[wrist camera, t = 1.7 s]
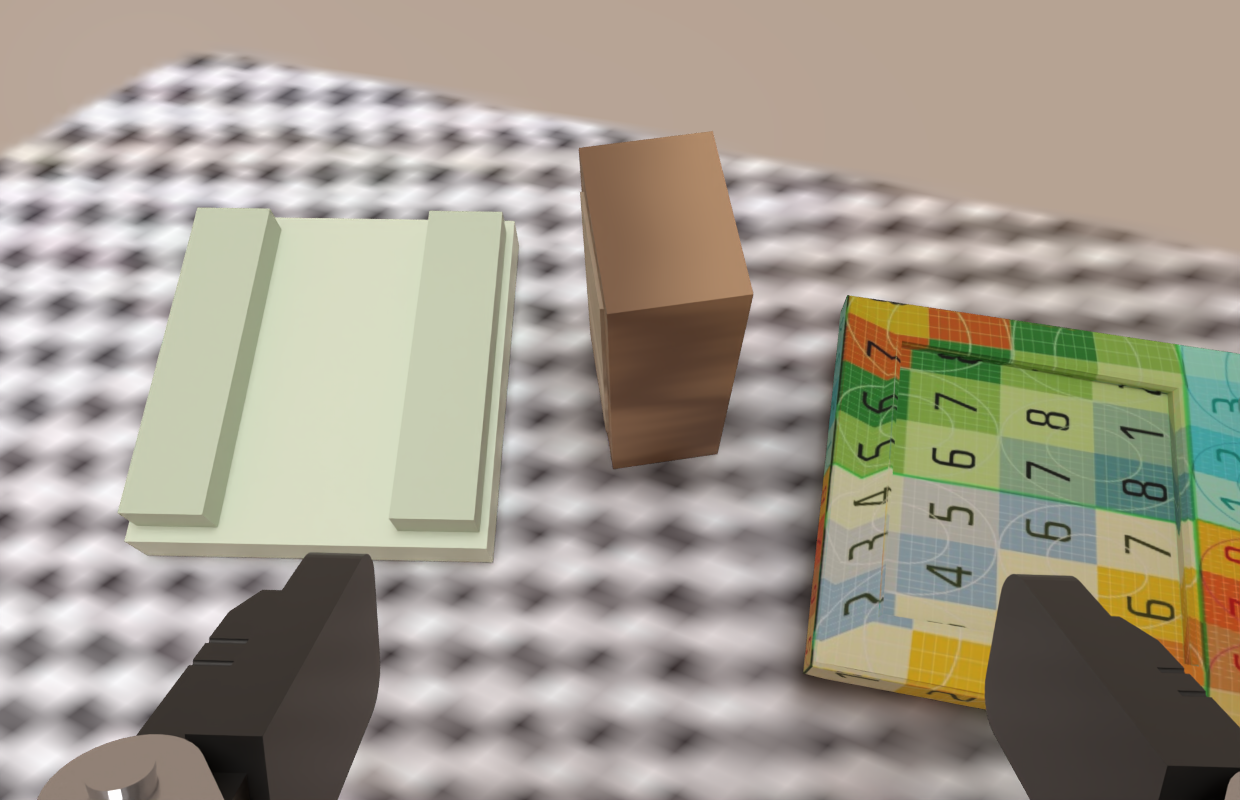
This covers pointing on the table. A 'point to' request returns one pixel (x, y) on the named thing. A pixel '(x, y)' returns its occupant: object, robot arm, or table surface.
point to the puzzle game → (1020, 494)
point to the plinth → (329, 390)
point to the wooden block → (662, 294)
